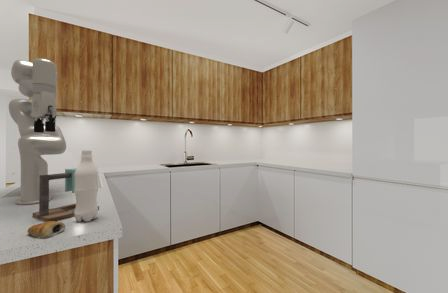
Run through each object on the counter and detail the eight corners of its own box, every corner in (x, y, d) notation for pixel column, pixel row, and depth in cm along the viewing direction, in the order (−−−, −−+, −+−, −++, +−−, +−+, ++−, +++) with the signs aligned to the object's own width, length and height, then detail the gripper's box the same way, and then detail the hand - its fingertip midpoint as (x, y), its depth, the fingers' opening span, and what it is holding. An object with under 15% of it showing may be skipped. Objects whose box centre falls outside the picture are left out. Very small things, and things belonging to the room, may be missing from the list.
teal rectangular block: (65, 191, 84) (65, 169, 84) (78, 189, 88) (78, 168, 88) (73, 193, 81) (73, 170, 81) (86, 190, 85) (86, 168, 85)
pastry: (19, 237, 60) (19, 224, 61) (42, 228, 67) (42, 217, 67) (47, 239, 59) (47, 226, 59) (68, 230, 66) (68, 218, 66)
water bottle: (86, 224, 70) (86, 151, 70) (68, 222, 72) (69, 150, 72) (102, 217, 78) (103, 150, 77) (86, 215, 79) (86, 150, 79)
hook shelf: (32, 216, 77) (32, 173, 77) (81, 205, 92) (81, 169, 92) (49, 223, 71) (49, 176, 71) (98, 209, 86) (99, 171, 86)
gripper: (23, 91, 86) (23, 132, 86) (43, 85, 78) (43, 130, 78) (45, 94, 93) (45, 133, 93) (66, 90, 85) (65, 132, 85)
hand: (44, 132), depth 85 cm, fingers open, 9 cm apart
